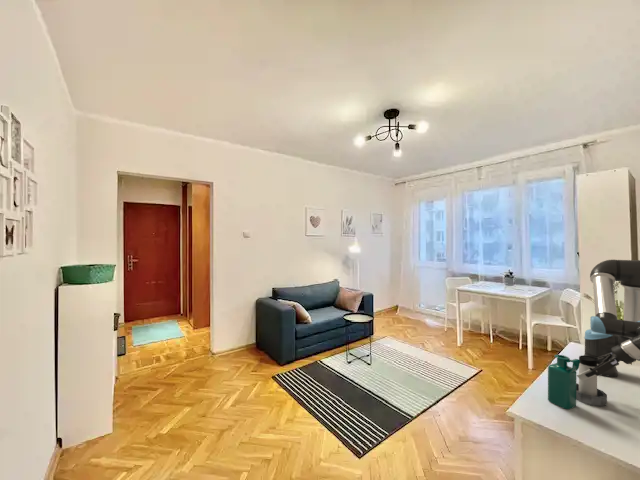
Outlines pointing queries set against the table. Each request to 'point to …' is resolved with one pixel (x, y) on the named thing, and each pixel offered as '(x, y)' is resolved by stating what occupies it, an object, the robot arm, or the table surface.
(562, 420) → the table surface
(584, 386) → the travel mug
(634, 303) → the robot arm
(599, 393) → the ring collar
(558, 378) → the green bottle
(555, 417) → the table surface
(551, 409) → the table surface
